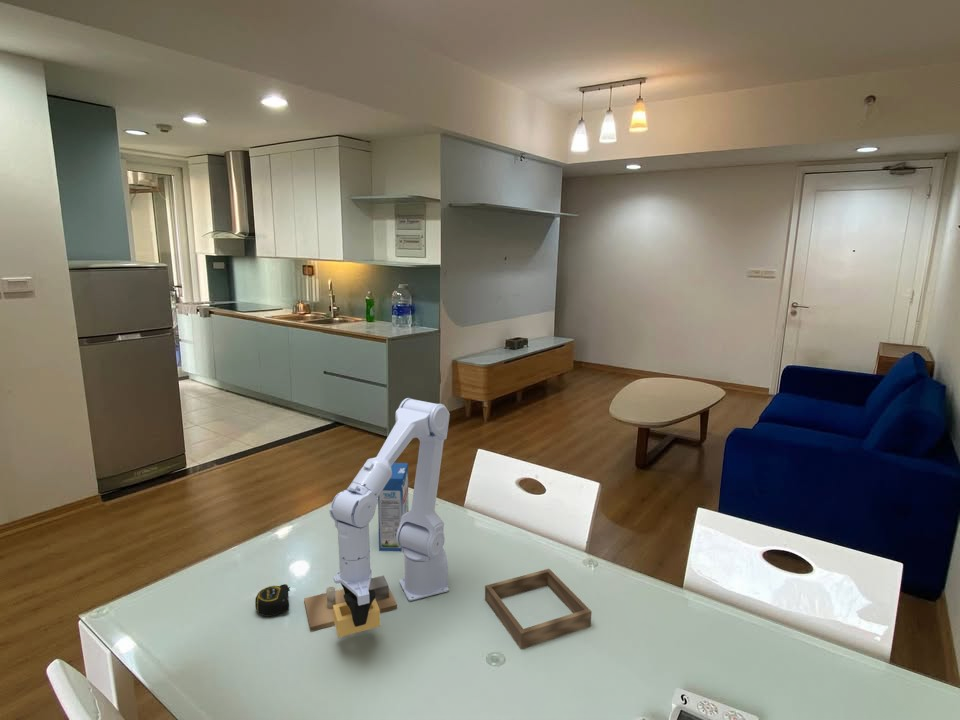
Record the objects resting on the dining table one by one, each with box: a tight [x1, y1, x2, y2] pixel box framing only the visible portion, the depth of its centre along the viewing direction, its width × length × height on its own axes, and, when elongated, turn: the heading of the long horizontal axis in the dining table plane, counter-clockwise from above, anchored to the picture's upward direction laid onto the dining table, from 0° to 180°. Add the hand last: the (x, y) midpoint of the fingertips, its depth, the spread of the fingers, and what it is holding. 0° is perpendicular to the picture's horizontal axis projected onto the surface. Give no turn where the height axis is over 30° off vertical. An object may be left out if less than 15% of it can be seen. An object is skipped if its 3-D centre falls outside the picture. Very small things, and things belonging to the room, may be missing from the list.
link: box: [333, 599, 381, 638], centre depth 105 cm, size 8×5×4 cm, turn 114°
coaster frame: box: [484, 568, 592, 650], centre depth 116 cm, size 16×16×4 cm
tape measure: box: [254, 583, 291, 617], centre depth 116 cm, size 7×7×4 cm
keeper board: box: [303, 575, 398, 632], centre depth 117 cm, size 18×10×5 cm, turn 115°
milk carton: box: [377, 462, 409, 552], centre depth 141 cm, size 10×6×20 cm, turn 179°
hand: (357, 615), depth 105 cm, fingers closed on link, 5 cm apart
